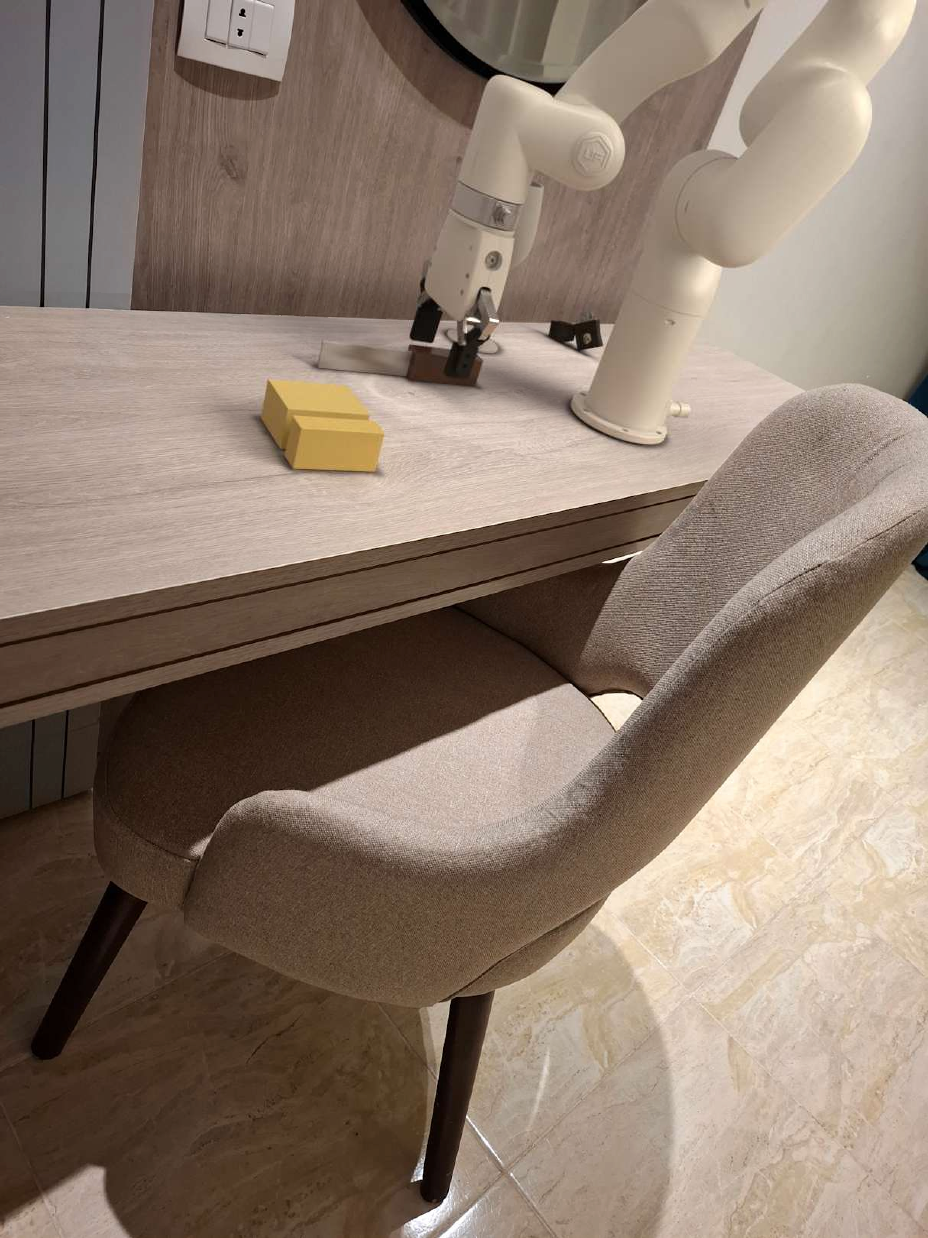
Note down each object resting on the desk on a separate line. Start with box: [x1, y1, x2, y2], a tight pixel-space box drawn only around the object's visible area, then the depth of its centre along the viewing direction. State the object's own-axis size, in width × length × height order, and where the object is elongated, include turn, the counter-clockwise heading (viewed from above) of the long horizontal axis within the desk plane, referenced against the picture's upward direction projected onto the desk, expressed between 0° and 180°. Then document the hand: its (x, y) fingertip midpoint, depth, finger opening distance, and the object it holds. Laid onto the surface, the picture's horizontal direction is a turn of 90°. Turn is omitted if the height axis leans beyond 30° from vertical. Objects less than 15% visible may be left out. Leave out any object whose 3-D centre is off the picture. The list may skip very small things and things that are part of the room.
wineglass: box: [446, 179, 545, 354], centre depth 118 cm, size 8×8×21 cm
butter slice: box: [284, 415, 386, 473], centre depth 81 cm, size 8×2×4 cm, turn 117°
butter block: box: [260, 378, 371, 450], centre depth 84 cm, size 8×6×4 cm
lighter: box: [548, 311, 604, 352], centre depth 134 cm, size 8×2×5 cm
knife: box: [316, 340, 484, 387], centre depth 104 cm, size 20×2×3 cm, turn 117°
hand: (437, 358), depth 106 cm, fingers open, 9 cm apart
